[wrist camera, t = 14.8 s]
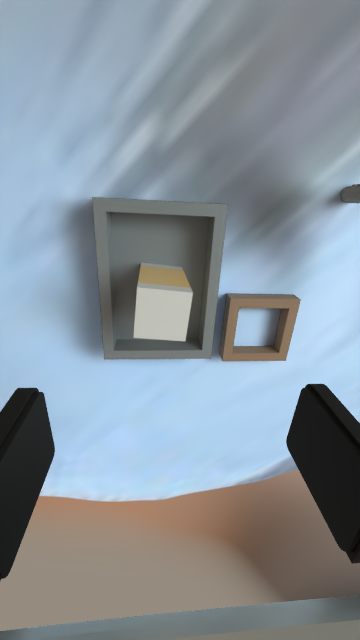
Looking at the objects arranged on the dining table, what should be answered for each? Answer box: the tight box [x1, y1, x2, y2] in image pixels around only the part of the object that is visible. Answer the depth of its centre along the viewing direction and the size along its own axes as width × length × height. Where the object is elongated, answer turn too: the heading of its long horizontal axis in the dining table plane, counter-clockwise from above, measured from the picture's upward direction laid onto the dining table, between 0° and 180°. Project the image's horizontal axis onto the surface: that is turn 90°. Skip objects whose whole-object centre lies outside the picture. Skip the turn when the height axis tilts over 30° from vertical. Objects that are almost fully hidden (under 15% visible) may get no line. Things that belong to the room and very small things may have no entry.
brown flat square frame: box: [219, 293, 301, 361], centre depth 30 cm, size 8×8×2 cm
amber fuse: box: [133, 263, 193, 341], centre depth 24 cm, size 4×4×8 cm
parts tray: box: [92, 197, 228, 359], centre depth 26 cm, size 15×11×3 cm
